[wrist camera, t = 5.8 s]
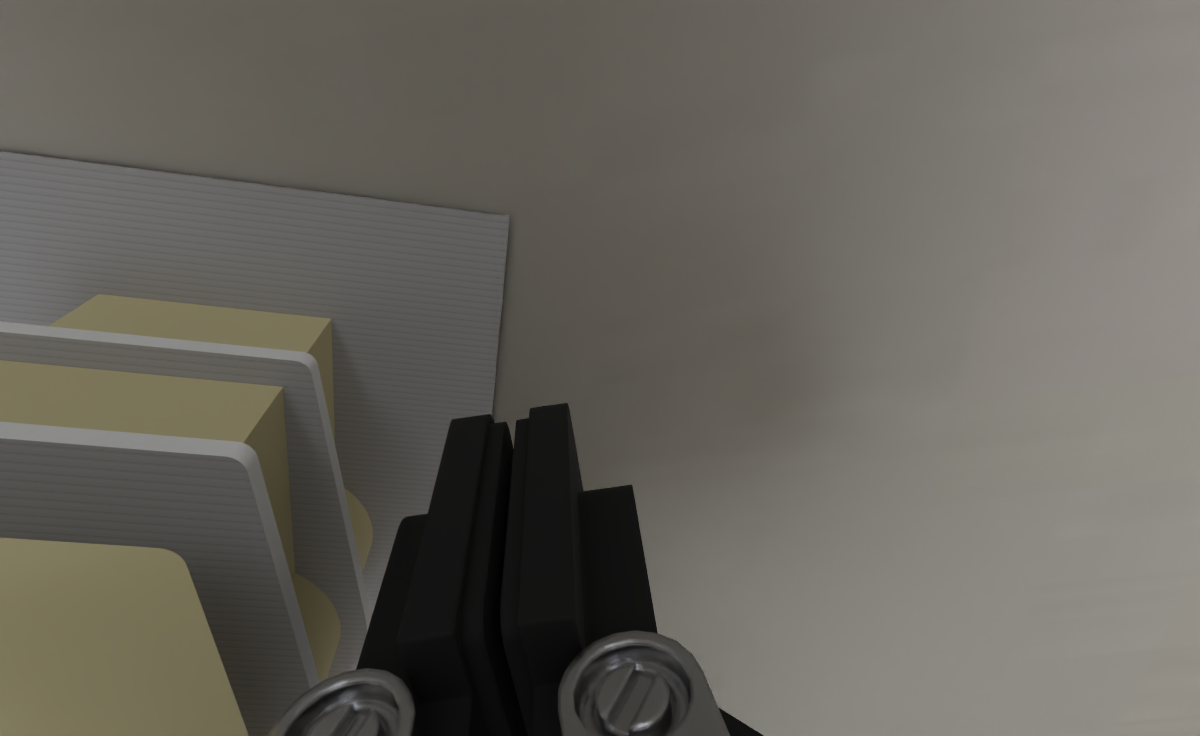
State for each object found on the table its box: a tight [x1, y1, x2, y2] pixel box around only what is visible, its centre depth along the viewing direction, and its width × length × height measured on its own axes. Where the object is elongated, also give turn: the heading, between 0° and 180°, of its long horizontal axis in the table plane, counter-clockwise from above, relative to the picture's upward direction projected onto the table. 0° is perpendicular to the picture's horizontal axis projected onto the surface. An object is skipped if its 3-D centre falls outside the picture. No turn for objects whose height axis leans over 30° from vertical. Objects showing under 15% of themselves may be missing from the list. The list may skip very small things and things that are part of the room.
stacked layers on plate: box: [0, 151, 510, 736], centre depth 9 cm, size 10×9×6 cm
